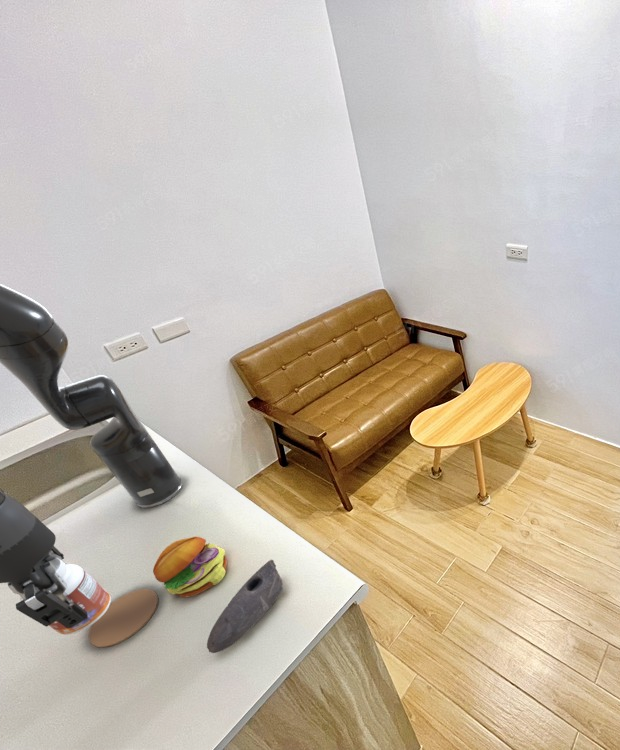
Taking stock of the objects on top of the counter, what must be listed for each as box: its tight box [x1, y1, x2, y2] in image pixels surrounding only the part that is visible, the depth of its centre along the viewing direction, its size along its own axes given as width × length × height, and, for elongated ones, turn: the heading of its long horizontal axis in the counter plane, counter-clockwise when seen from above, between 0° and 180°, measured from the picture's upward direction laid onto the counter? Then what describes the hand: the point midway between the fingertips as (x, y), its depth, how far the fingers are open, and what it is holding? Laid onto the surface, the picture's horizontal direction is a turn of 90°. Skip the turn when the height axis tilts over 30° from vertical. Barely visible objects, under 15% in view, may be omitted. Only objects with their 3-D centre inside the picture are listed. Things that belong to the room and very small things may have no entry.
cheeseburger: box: [152, 536, 228, 598], centre depth 76 cm, size 10×11×10 cm
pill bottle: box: [20, 558, 112, 636], centre depth 55 cm, size 6×6×11 cm
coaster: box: [88, 588, 159, 648], centre depth 72 cm, size 10×10×1 cm
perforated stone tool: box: [206, 559, 284, 654], centre depth 70 cm, size 15×5×7 cm, turn 156°
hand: (75, 604), depth 57 cm, fingers closed on pill bottle, 6 cm apart
